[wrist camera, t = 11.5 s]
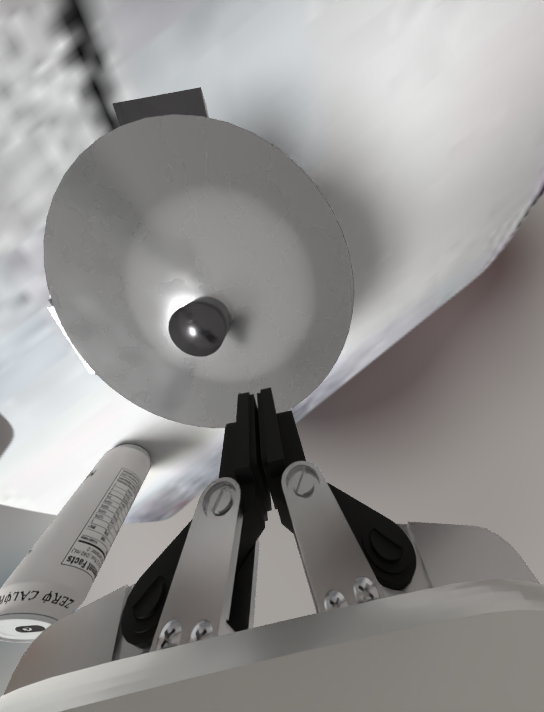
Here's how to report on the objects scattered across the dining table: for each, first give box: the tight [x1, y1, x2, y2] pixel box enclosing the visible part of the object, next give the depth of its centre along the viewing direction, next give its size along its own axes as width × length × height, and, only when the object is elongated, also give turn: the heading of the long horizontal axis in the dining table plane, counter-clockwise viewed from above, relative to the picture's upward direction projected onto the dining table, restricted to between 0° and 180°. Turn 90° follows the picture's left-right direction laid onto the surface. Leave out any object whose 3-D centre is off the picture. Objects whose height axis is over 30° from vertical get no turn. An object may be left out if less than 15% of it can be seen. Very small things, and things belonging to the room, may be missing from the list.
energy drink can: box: [0, 444, 151, 643], centre depth 22 cm, size 6×6×15 cm
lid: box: [44, 114, 354, 428], centre depth 12 cm, size 17×18×4 cm
